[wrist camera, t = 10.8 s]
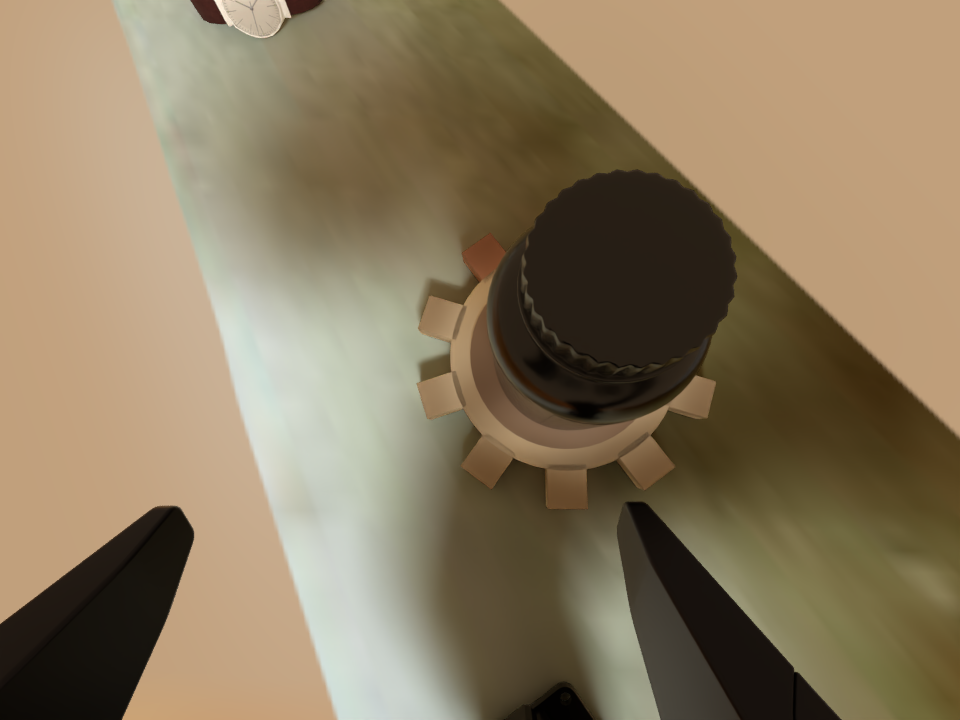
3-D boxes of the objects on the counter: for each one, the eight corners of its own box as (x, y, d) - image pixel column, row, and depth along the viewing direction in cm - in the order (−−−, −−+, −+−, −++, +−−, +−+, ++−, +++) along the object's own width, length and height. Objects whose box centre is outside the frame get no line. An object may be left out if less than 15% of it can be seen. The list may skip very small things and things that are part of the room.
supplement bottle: (632, 288, 22) (776, 121, 11) (641, 430, 21) (814, 420, 9) (491, 291, 23) (478, 132, 11) (492, 431, 22) (480, 423, 10)
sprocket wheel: (765, 389, 23) (782, 386, 21) (533, 566, 22) (535, 575, 20) (583, 177, 25) (587, 162, 24) (367, 329, 24) (359, 322, 23)
